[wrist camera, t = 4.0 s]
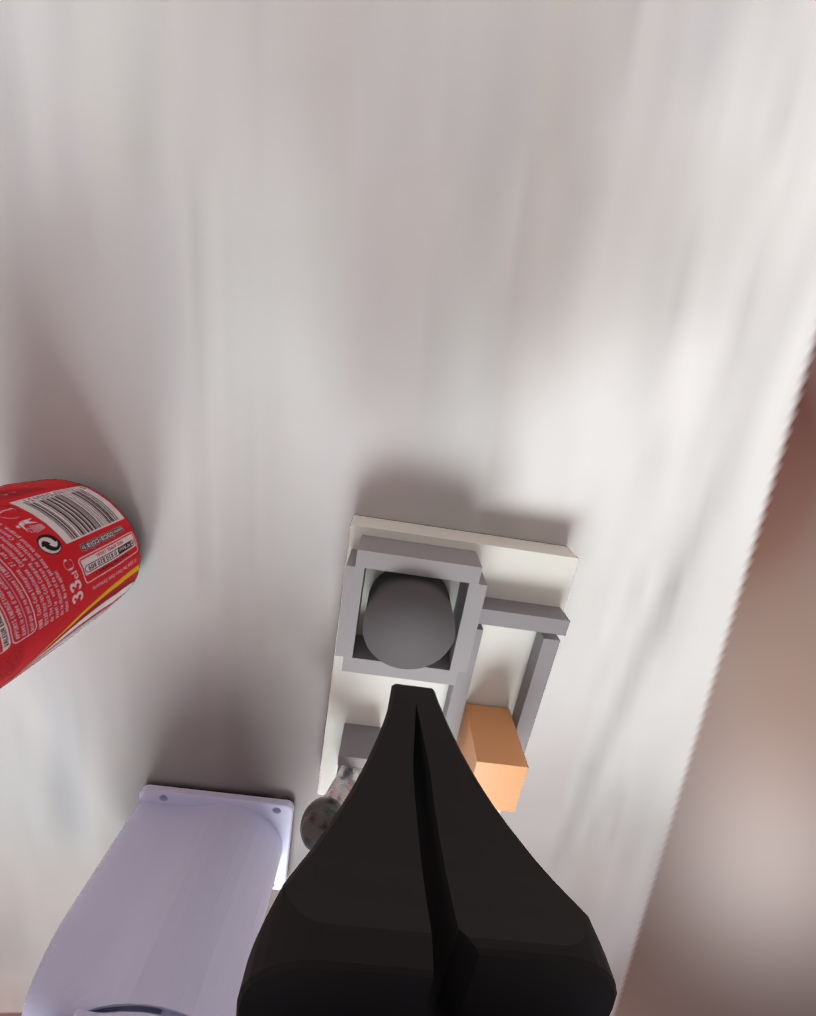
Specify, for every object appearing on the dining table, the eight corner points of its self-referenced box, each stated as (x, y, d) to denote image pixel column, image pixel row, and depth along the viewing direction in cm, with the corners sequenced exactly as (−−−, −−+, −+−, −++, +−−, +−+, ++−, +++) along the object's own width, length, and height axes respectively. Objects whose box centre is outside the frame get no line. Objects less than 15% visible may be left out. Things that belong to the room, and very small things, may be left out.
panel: (322, 770, 24) (308, 831, 21) (354, 514, 19) (343, 540, 16) (494, 790, 25) (507, 852, 21) (566, 546, 20) (599, 577, 16)
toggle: (344, 759, 22) (289, 851, 17) (348, 731, 21) (292, 819, 17) (376, 774, 21) (328, 873, 17) (381, 746, 21) (333, 841, 16)
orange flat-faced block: (455, 743, 21) (464, 806, 18) (465, 703, 21) (477, 761, 17) (497, 748, 22) (514, 811, 18) (509, 708, 21) (528, 767, 17)
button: (363, 631, 19) (357, 663, 17) (373, 559, 18) (369, 583, 16) (441, 641, 20) (446, 674, 17) (456, 570, 18) (463, 596, 16)
